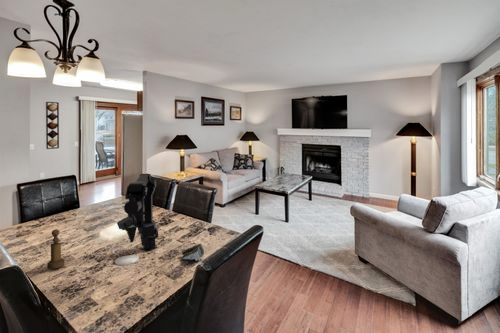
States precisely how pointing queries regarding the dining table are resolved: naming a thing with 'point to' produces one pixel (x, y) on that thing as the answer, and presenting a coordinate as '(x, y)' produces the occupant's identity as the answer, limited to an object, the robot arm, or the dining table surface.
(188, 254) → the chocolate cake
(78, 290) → the dining table surface
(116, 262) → the white round plate
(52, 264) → the wooden chess pawn
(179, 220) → the dining table surface
